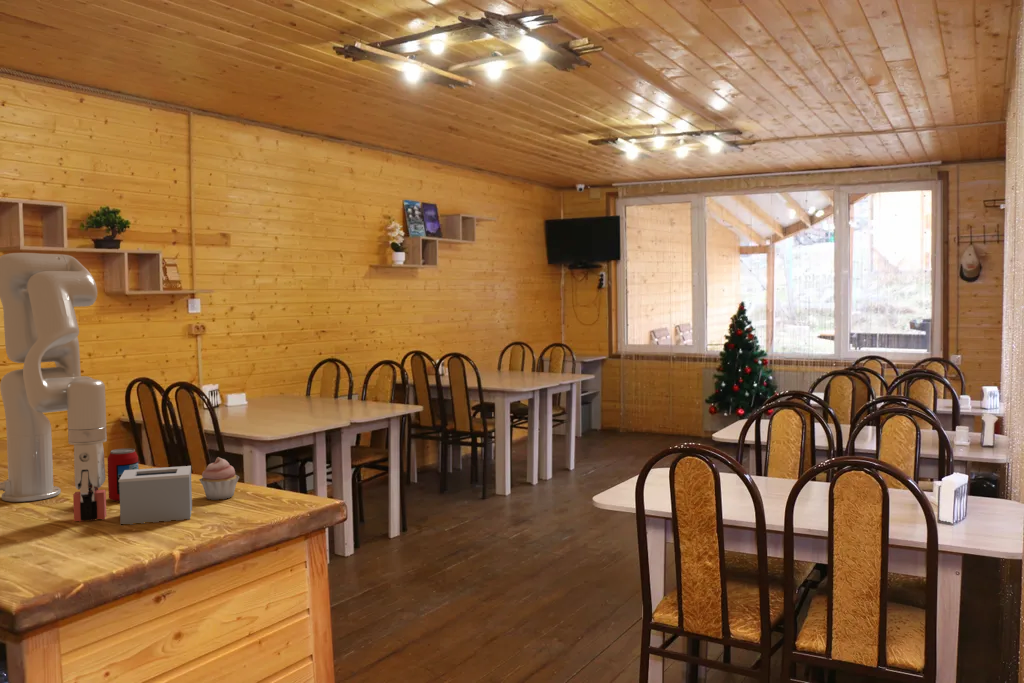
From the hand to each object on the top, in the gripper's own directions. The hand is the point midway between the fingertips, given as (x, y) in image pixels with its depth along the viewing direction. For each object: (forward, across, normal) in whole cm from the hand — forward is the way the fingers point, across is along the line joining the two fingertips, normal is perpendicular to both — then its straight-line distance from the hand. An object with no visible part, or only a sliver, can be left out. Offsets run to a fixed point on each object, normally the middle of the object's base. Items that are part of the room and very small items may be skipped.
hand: (90, 517), depth 181 cm
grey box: (0, -3, -14) cm, 14 cm away
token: (0, 0, 0) cm, 0 cm away
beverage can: (+1, +17, -5) cm, 18 cm away
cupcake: (+1, +11, -27) cm, 29 cm away
